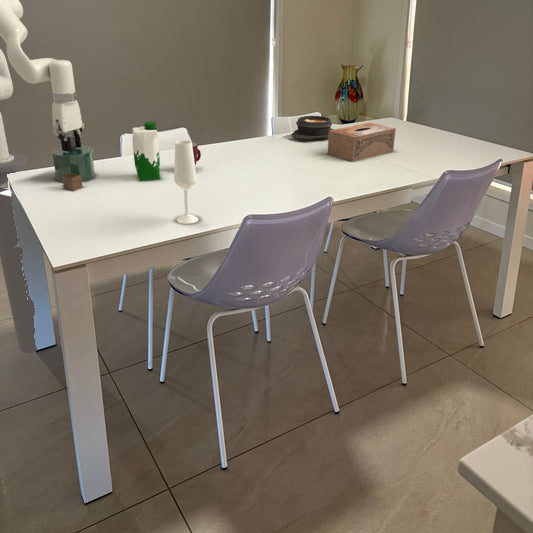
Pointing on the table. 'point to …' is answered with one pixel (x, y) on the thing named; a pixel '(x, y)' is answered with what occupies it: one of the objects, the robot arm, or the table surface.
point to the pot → (74, 166)
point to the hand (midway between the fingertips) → (71, 148)
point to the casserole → (312, 127)
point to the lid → (72, 149)
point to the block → (72, 181)
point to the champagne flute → (185, 175)
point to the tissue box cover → (361, 141)
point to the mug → (196, 152)
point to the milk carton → (146, 152)
